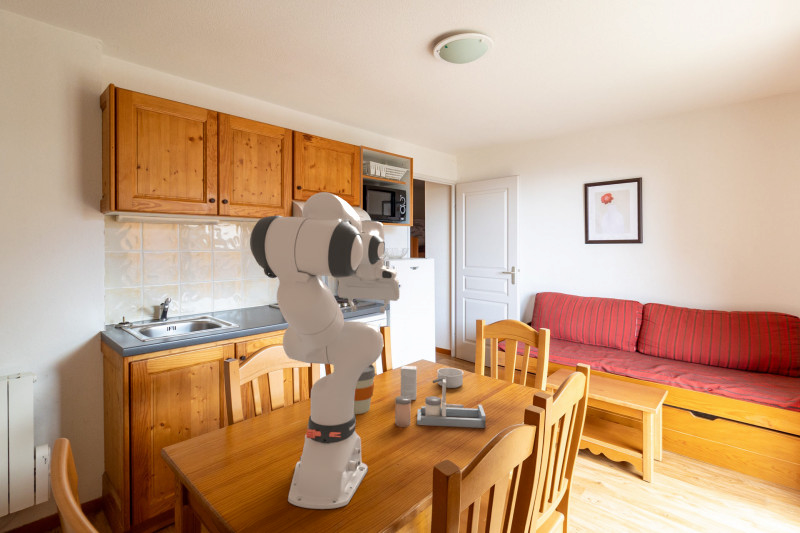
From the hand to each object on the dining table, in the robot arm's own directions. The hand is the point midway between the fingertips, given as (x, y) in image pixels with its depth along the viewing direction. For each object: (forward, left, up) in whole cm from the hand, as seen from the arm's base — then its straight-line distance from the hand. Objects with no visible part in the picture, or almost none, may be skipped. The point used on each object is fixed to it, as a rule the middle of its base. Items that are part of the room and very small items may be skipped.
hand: (368, 311), depth 126 cm
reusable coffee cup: (+9, +5, -37) cm, 39 cm away
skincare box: (+21, -13, -37) cm, 45 cm away
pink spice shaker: (-1, -12, -37) cm, 39 cm away
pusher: (+3, -29, -37) cm, 47 cm away
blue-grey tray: (+3, -29, -37) cm, 47 cm away
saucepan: (+34, -28, -37) cm, 58 cm away
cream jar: (+3, -22, -37) cm, 43 cm away
